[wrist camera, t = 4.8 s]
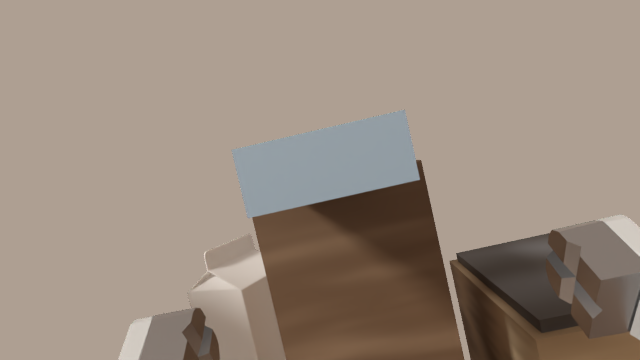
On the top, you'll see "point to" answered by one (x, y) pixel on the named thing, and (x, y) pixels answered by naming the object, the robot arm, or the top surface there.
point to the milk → (238, 302)
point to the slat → (326, 164)
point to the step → (524, 308)
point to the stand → (360, 277)
